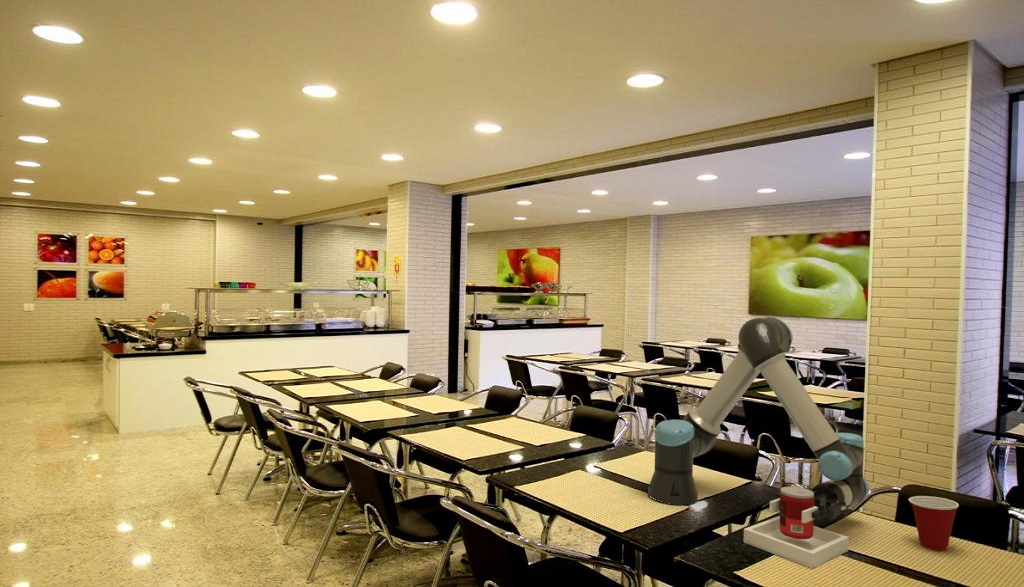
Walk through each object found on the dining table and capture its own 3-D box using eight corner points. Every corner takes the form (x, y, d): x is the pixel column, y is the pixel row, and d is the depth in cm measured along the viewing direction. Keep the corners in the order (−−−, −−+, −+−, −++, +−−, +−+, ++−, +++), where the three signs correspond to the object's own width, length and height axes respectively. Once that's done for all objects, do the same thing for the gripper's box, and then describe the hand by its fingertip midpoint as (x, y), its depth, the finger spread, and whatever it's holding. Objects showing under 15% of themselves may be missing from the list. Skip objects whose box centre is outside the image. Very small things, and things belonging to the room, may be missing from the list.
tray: (743, 542, 158) (743, 528, 158) (780, 527, 169) (781, 515, 169) (812, 568, 144) (812, 553, 144) (848, 550, 155) (848, 537, 155)
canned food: (820, 537, 154) (821, 494, 154) (795, 541, 151) (796, 497, 151) (796, 526, 161) (797, 485, 161) (772, 530, 159) (773, 487, 159)
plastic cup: (910, 534, 166) (911, 490, 167) (959, 545, 160) (960, 500, 160) (904, 546, 158) (905, 500, 158) (956, 559, 151) (957, 510, 151)
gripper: (871, 521, 159) (827, 540, 145) (794, 499, 175) (749, 514, 162) (871, 492, 159) (828, 509, 145) (794, 472, 175) (749, 486, 162)
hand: (786, 512), depth 153 cm, fingers closed on canned food, 8 cm apart
